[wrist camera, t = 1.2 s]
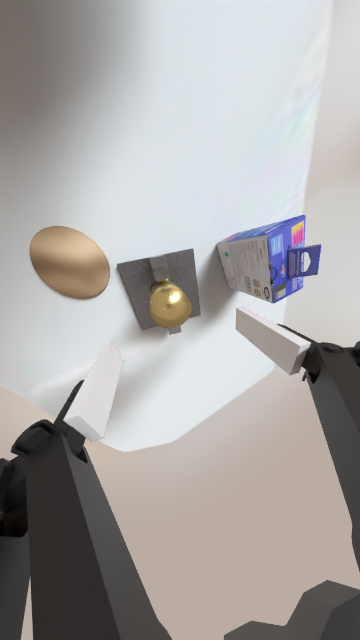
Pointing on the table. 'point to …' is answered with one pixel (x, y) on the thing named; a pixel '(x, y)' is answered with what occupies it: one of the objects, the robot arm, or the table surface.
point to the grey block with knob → (153, 269)
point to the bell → (169, 304)
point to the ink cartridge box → (268, 259)
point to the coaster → (69, 262)
